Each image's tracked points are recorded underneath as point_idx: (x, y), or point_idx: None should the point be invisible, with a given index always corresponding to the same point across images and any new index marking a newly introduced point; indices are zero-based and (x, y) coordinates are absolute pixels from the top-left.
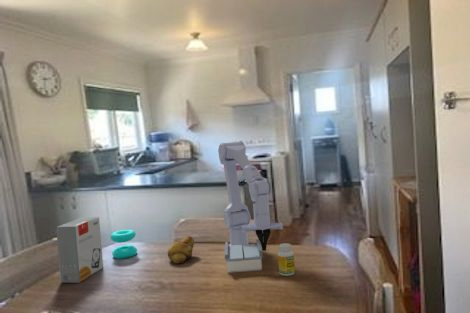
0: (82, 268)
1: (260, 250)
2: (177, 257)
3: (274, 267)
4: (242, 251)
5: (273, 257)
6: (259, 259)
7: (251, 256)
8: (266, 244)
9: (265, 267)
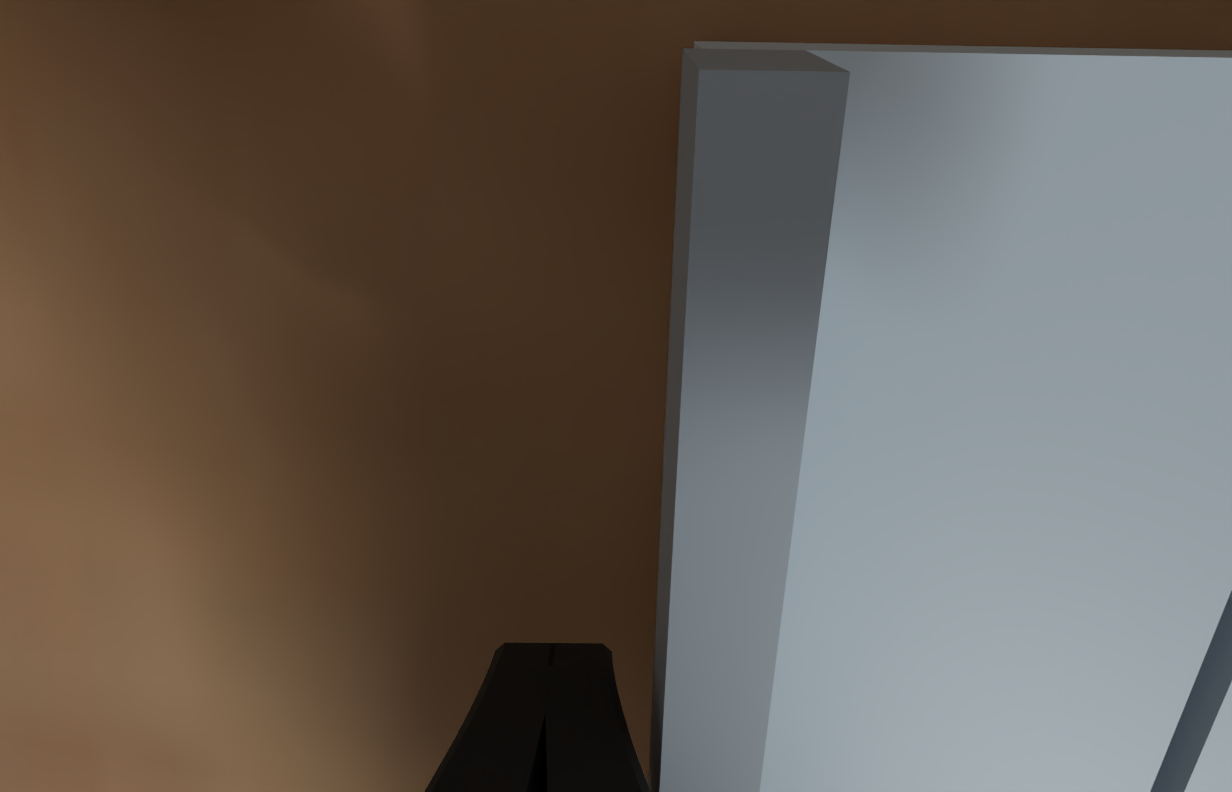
0: None
1: (750, 333)
2: None
3: (367, 178)
4: (1229, 688)
5: (378, 704)
6: None
7: (1122, 154)
8: (434, 788)
9: (585, 225)
